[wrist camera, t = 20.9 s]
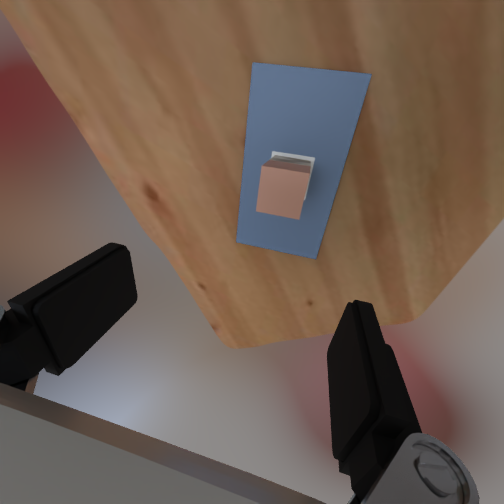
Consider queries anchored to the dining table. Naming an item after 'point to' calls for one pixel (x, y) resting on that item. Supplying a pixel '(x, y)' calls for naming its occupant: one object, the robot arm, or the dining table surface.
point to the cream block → (291, 160)
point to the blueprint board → (297, 148)
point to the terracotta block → (282, 188)
